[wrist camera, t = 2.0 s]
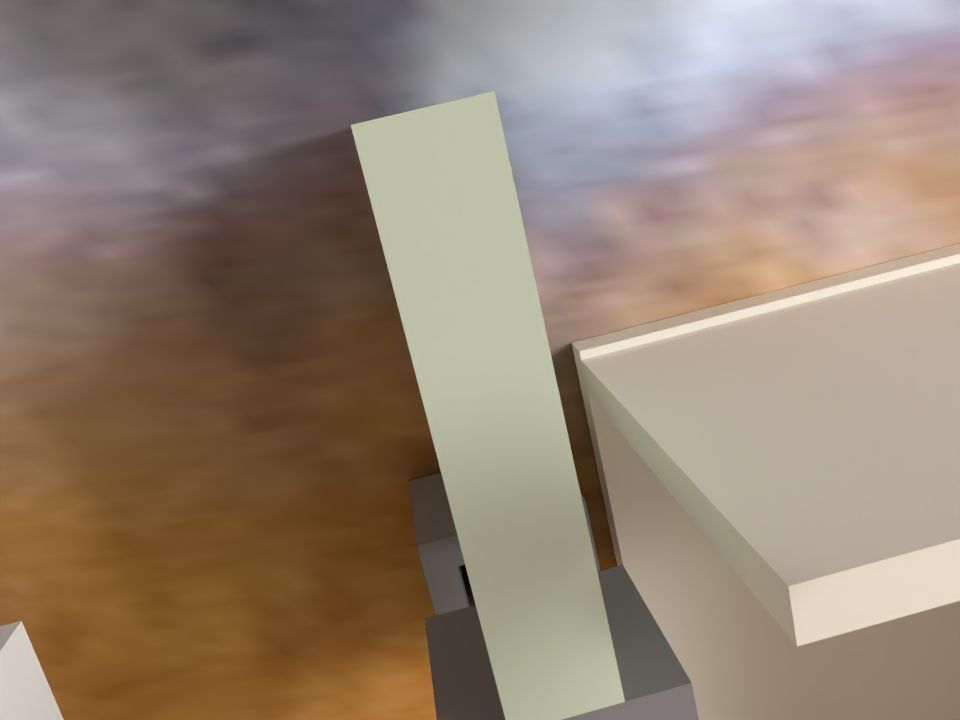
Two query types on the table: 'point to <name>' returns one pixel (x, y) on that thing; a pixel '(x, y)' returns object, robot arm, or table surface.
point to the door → (500, 447)
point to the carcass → (795, 491)
